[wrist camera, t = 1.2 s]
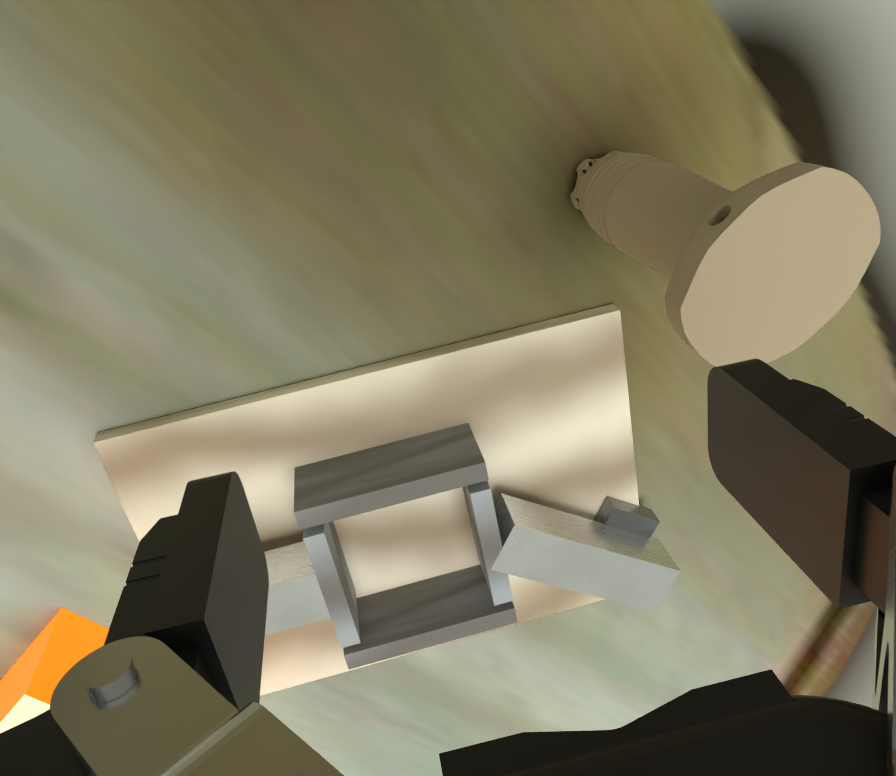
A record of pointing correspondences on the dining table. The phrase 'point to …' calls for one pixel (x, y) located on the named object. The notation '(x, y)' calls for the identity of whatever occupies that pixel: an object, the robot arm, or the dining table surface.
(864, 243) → the handle
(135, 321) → the dining table surface
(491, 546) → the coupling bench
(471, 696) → the dining table surface
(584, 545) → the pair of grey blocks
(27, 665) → the orange juice
